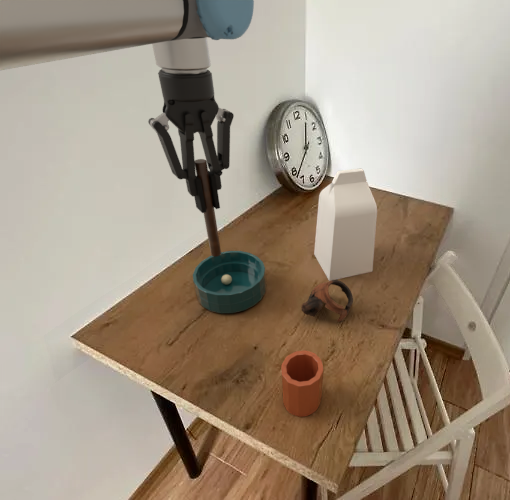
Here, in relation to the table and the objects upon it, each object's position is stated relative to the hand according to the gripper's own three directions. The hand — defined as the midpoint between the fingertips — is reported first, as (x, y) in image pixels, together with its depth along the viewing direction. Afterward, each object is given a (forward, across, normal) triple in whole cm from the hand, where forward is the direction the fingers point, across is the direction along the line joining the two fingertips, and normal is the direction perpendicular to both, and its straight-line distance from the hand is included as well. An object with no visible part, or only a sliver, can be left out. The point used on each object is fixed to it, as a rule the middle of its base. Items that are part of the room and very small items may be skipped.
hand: (208, 207), depth 67 cm
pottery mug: (+24, -16, +17) cm, 33 cm away
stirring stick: (+11, 0, 0) cm, 11 cm away
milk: (+24, -31, +6) cm, 39 cm away
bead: (+23, -3, -5) cm, 23 cm away
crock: (+24, 0, +31) cm, 39 cm away
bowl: (+24, -3, -1) cm, 24 cm away
